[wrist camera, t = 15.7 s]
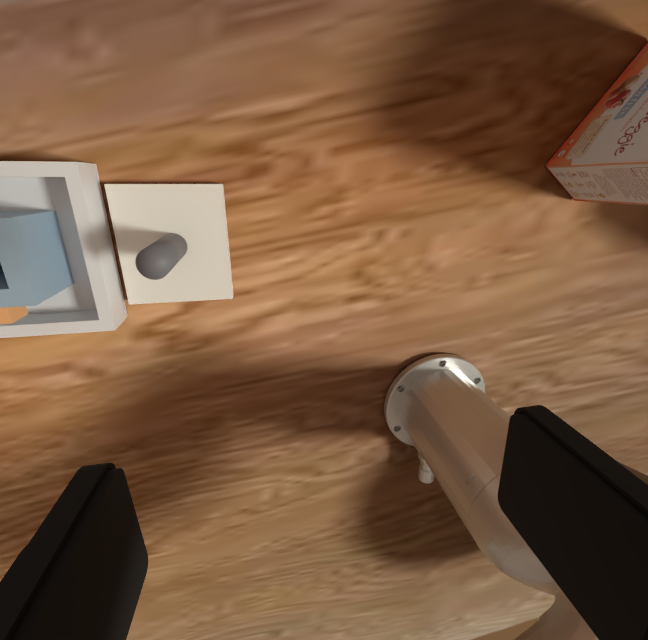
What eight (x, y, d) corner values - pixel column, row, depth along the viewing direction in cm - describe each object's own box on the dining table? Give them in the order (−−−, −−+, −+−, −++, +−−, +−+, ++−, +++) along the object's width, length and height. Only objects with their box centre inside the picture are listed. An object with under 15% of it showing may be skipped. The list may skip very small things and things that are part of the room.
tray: (128, 316, 33) (114, 330, 30) (-34, 325, 31) (-66, 342, 28) (96, 163, 29) (76, 161, 26) (-97, 162, 26) (-145, 159, 23)
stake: (233, 295, 35) (228, 327, 27) (133, 300, 33) (97, 336, 25) (223, 183, 31) (213, 184, 23) (109, 183, 29) (59, 185, 22)
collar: (55, 210, 29) (8, 217, 23) (77, 296, 31) (40, 321, 26) (-32, 211, 28) (-102, 219, 22) (-1, 300, 30) (-57, 327, 25)
